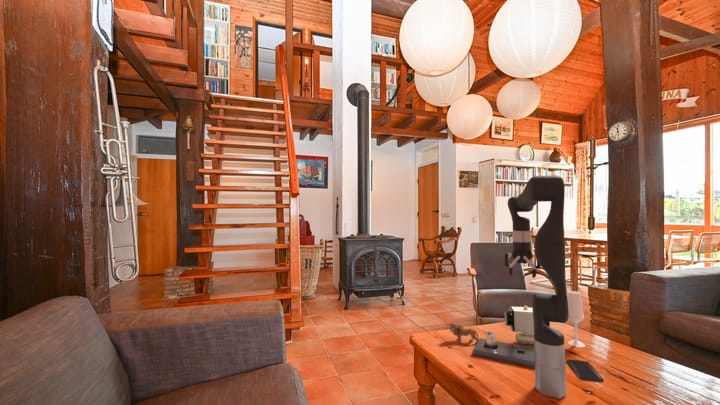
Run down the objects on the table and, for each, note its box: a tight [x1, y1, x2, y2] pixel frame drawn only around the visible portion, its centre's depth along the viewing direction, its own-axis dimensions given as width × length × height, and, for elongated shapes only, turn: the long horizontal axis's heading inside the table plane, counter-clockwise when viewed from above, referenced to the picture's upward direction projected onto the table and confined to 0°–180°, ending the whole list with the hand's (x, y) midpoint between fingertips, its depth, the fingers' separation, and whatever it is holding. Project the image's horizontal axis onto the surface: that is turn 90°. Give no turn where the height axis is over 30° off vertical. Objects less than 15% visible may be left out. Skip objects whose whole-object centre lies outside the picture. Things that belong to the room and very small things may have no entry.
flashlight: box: [485, 331, 496, 350], centre depth 142 cm, size 4×4×8 cm
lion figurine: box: [449, 322, 480, 345], centre depth 153 cm, size 15×5×9 cm, turn 82°
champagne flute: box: [567, 290, 586, 348], centre depth 149 cm, size 7×7×24 cm
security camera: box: [503, 305, 551, 346], centre depth 150 cm, size 18×8×18 cm, turn 75°
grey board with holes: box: [472, 338, 535, 369], centre depth 139 cm, size 14×24×2 cm, turn 59°
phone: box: [566, 358, 604, 383], centre depth 124 cm, size 8×1×15 cm
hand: (522, 276), depth 143 cm, fingers open, 8 cm apart
